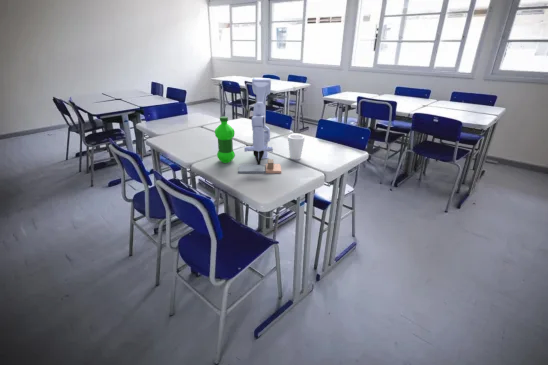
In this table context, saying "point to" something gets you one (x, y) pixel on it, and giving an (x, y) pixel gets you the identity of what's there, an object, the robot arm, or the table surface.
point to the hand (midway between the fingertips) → (258, 164)
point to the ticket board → (251, 168)
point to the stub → (272, 167)
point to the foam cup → (295, 146)
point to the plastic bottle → (225, 141)
